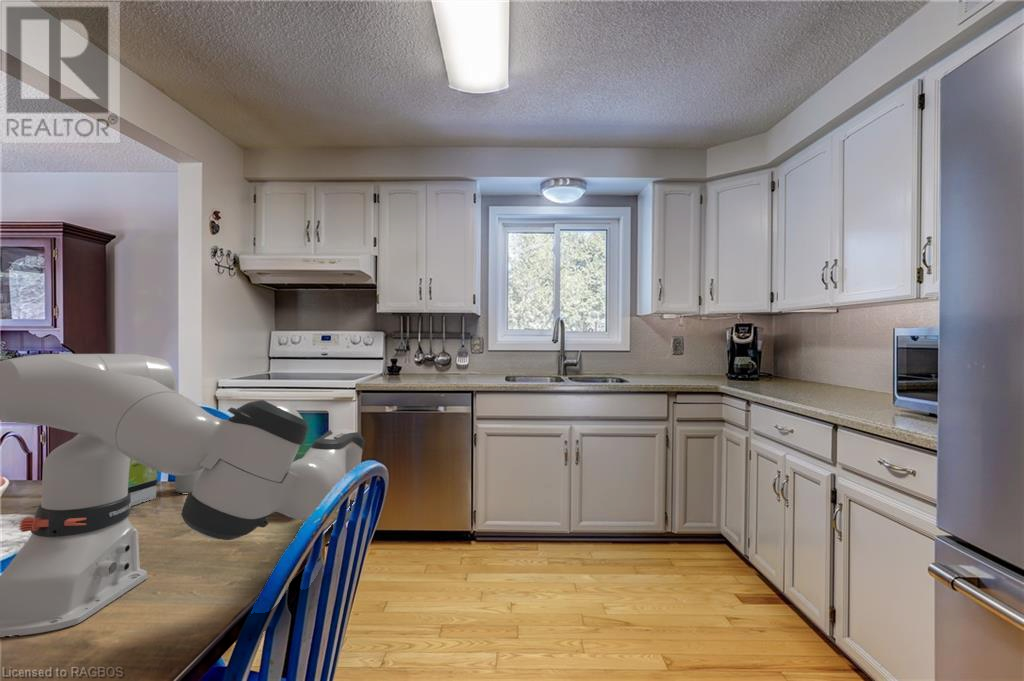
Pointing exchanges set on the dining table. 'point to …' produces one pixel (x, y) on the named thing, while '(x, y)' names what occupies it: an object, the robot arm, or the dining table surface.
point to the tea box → (141, 483)
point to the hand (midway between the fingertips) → (271, 478)
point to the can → (186, 482)
